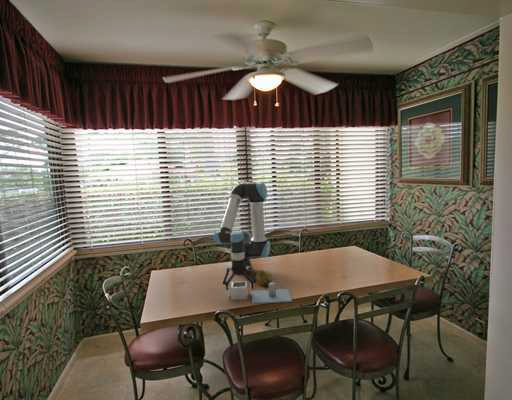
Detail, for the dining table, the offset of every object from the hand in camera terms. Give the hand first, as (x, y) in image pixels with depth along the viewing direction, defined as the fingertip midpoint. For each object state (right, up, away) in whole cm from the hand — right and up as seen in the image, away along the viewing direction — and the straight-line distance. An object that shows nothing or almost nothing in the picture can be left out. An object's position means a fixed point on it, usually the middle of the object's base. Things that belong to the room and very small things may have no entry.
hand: (240, 294), depth 172 cm
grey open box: (0, -1, 0) cm, 1 cm away
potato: (+14, +1, +16) cm, 22 cm away
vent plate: (+19, 0, -2) cm, 19 cm away
